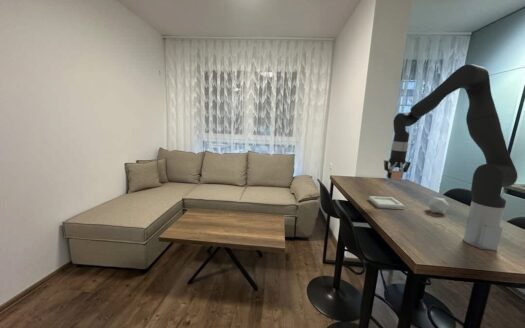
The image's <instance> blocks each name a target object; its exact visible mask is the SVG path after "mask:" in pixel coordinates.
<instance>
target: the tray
mask: <svg viewBox="0 0 525 328" xmlns="http://www.w3.org/2000/svg"><path fill="white" fill-rule="evenodd" d="M368 201H370V202H371V203H372V204H373V205H374V206H376V208H378V209H392V210H405V205H404V204H403V203H401V202H400V201H399V200H397V199H396V198H395V197H392V196H374V195H373V196H372V195H370V196H368Z"/></svg>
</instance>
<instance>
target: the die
mask: <svg viewBox="0 0 525 328" xmlns="http://www.w3.org/2000/svg"><path fill="white" fill-rule="evenodd" d="M426 205H427V207H428V208H429V210H430V211H431V213H434V214H439V215H440V214H441V215H444V214H445V213H446V212H447V211H448V209H449V208H450V205H449V203H448V202H447V201H446V199H445V198H442V197H436V196H435V197H434V196H432V198H431V199H430V200H429V201H428V203H427V204H426Z"/></svg>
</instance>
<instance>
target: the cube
mask: <svg viewBox="0 0 525 328" xmlns="http://www.w3.org/2000/svg"><path fill="white" fill-rule="evenodd" d="M401 177H402V178H403V175H402V172H400V171H399V169H393V170H392V172H391V179H389V180H390V181H395V182H396V181H399V182H401V181H402V178H401Z"/></svg>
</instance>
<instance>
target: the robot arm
mask: <svg viewBox="0 0 525 328" xmlns="http://www.w3.org/2000/svg"><path fill="white" fill-rule="evenodd" d="M459 89H463V90H465V93H466V95H467V98H468V108H467V112H466V117H465V118H466V119H465V120H466V126H467V131H468V134H469V136H470V138H471V140H473V142H474V143H475V144H476V145H477V147H479V149H480V151H481V152H482V154H483V156H484V159H485V162H486V163H484V164H480V165H479V166H477V168H476V169H475V171H474V173H473V175H472V182H471V189H470V195H471V203H470V207H469V212H468V216H467V220H466V225H465V230H464V235H463V241H464V242H465V243H467V244H468V245H470V246H473V247H475V248H478V249H479V250H485V251H486V250H490V251H498V249H499V248H498V247H499V243H500V240H501V236H502V233H503V227H502V226H501V224H502V220H503V217H504V212H505V207H506V204H507V200H506V199H505V198H504V197H502V196H501V192H502V188H507V187H512V185H515V183H516V182H517V180H518V171H517V170H516V166H515V164H514V161H513V160H512V158H511V155H510V153H509V150H508V148H507V144H506V141H505V137H504V133H503V130H502V126H501V121H500V117H499V114H498V111H497V107H496V105H495V101H494V99H493V95H492V90H491V89H492V88H491V80H490V74H489V71H488V70H487V69H486V67H483V66H480V65H477V64H473V63H472V64H470V63H469V64H464V65H462V66H460V67H458V68H457V69H456V70H454V71H453V73H451V74H450V75H448V77H447V78H446V79H445V80H444V81H442V83H440V84H439V85H438V86H437V87H436V88H435V89H434V90H433V91H431V92H430V93H429V94H428V95H426V96H425V97H424V98H422V99H421V100H419V101H418V102H416V103H415V104H413V105H412V106H411V108H410V111H409V112H407V113H405V112H400V113H397V114H396V115H395V116H394V118H393V132H394V135H393V142H392V145H391V150H390V156H389V159H388V160H385V159H384V160H383V167H384V171H386V172H387V174H386V177H387V179H389V180H390V179H391V172H392V170H395V168H397V170H398V171H400V172H402V177H401V179H403V174H404V173H408V171H409V168H410V167H411V162H410V161H406V159H407V152H408V146H409V138H410V132H409V131H407V130H406V127H411V126H413V125H414V124H416V123H417V122H418V121H419V120H420V119H421V118H422V117H423V116H425V115H427V114H428V113H430V112H431V111H433V110H434V109H436V108H437V107H438V106H439V105H440V103H441V102H442V101H443V100H444V99H445V98H446V97H447V96H448V95H450V94H451V93H453V92H455V91H457V90H459Z"/></svg>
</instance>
